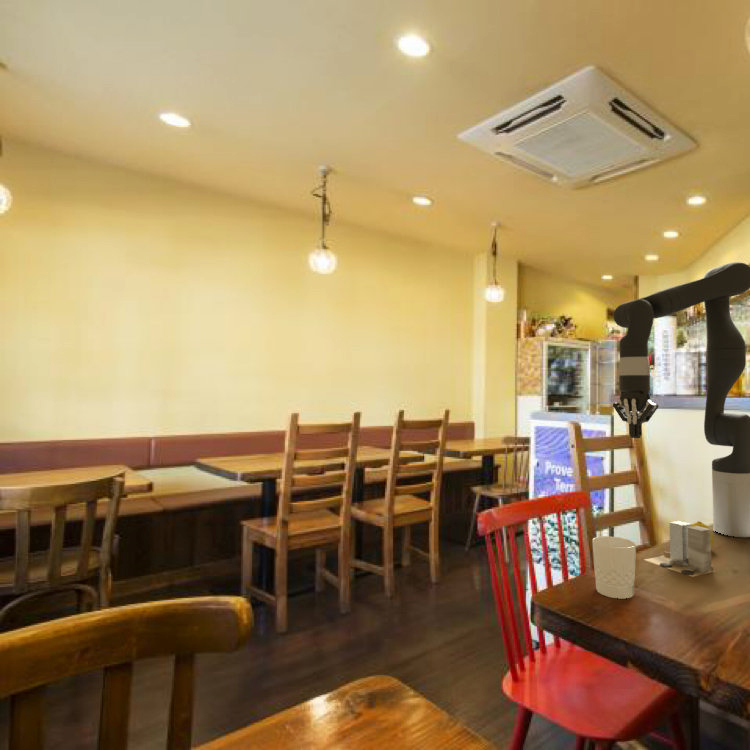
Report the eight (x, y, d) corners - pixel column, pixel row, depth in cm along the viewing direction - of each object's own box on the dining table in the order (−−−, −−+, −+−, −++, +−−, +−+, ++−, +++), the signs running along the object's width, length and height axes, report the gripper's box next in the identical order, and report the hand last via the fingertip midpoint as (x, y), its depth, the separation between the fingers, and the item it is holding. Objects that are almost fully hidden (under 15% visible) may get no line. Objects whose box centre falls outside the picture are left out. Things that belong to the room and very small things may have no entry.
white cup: (599, 582, 108) (599, 534, 108) (641, 591, 103) (640, 540, 103) (587, 593, 102) (587, 542, 102) (631, 604, 97) (630, 550, 97)
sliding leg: (679, 560, 117) (678, 520, 117) (692, 564, 114) (691, 524, 114) (664, 563, 115) (664, 523, 115) (677, 567, 112) (676, 526, 112)
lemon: (712, 559, 121) (712, 525, 122) (685, 555, 125) (684, 522, 125) (714, 553, 126) (714, 520, 126) (688, 549, 129) (687, 517, 129)
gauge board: (665, 560, 121) (664, 516, 121) (715, 576, 110) (714, 528, 111) (642, 565, 118) (641, 520, 118) (691, 582, 107) (690, 533, 108)
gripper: (666, 373, 136) (667, 439, 135) (623, 374, 148) (624, 435, 147) (646, 373, 133) (647, 440, 132) (604, 374, 145) (605, 436, 144)
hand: (635, 437), depth 140 cm, fingers closed
